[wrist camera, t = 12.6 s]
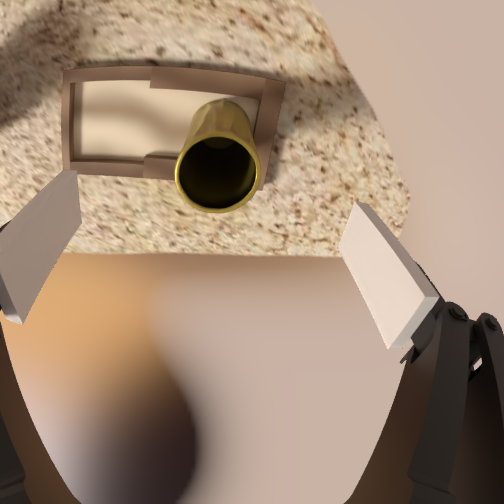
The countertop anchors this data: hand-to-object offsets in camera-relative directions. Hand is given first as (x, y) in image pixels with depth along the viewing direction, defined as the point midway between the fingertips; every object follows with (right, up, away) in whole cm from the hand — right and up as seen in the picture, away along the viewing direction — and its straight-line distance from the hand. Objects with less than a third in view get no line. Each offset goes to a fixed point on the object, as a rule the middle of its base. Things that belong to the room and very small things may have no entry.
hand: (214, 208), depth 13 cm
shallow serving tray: (-7, +12, +15) cm, 20 cm away
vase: (-2, +11, +16) cm, 19 cm away
